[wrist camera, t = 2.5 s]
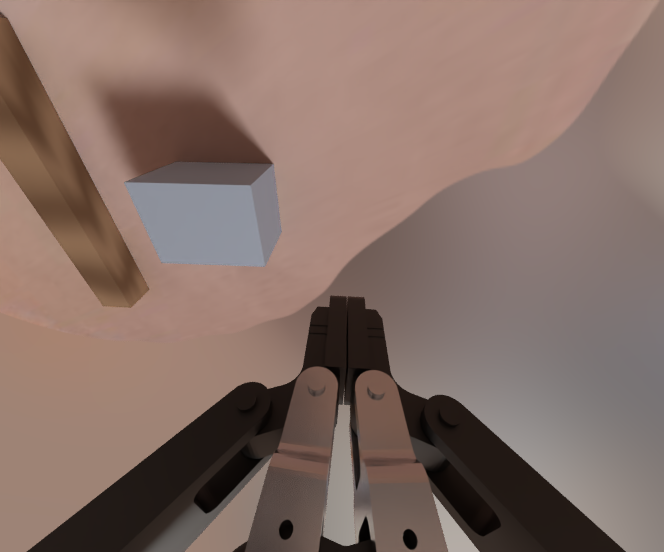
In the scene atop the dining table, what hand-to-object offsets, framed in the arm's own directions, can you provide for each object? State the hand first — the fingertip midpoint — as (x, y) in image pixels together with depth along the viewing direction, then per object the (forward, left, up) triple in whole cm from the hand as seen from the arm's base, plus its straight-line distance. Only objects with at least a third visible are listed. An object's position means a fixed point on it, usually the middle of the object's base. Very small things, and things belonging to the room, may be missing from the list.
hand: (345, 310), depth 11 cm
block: (0, -10, -13) cm, 16 cm away
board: (0, -24, -13) cm, 27 cm away
